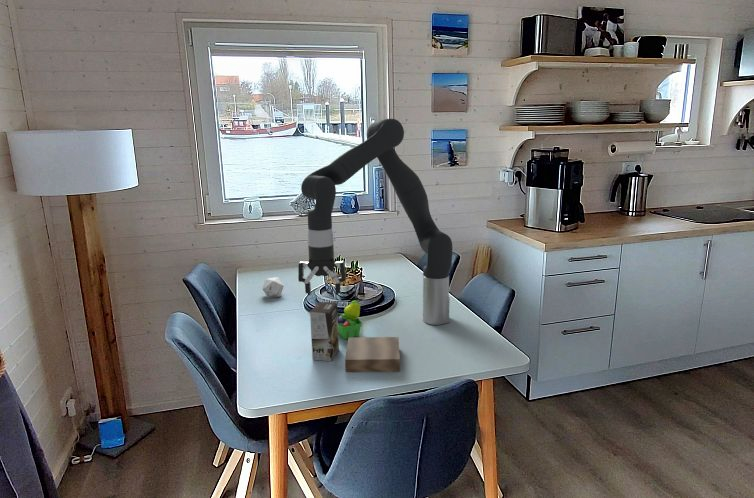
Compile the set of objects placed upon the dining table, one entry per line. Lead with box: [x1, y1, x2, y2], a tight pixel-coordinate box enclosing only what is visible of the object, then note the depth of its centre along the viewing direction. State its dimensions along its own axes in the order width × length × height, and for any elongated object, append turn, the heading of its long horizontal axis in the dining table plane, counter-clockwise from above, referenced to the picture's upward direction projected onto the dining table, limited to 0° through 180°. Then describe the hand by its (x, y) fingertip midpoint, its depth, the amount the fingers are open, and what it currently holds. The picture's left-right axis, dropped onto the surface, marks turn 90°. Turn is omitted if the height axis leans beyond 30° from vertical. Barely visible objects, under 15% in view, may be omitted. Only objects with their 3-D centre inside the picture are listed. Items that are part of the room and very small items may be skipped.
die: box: [262, 276, 284, 299], centre depth 212 cm, size 8×9×10 cm
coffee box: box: [309, 301, 340, 362], centre depth 159 cm, size 9×6×16 cm
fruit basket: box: [337, 300, 363, 340], centre depth 175 cm, size 11×9×11 cm
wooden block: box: [344, 336, 401, 373], centre depth 156 cm, size 16×15×4 cm
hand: (323, 294), depth 156 cm, fingers open, 8 cm apart
